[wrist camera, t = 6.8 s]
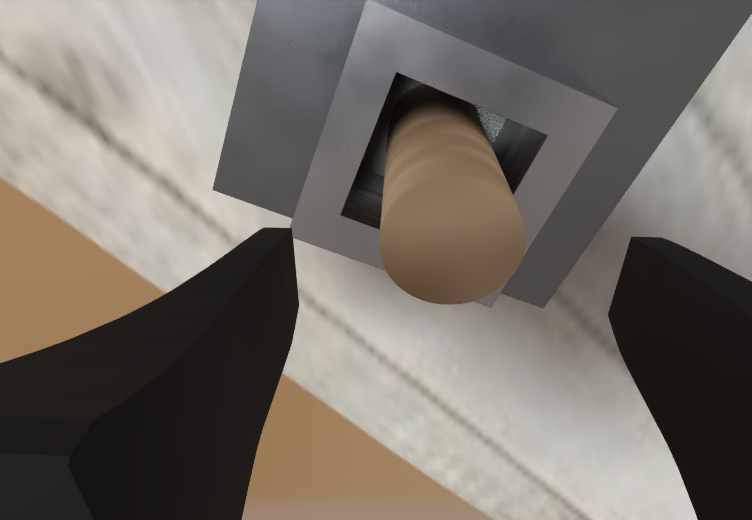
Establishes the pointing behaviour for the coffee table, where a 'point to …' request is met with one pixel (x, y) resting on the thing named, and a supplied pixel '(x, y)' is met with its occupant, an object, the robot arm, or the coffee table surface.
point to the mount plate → (475, 85)
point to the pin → (446, 203)
